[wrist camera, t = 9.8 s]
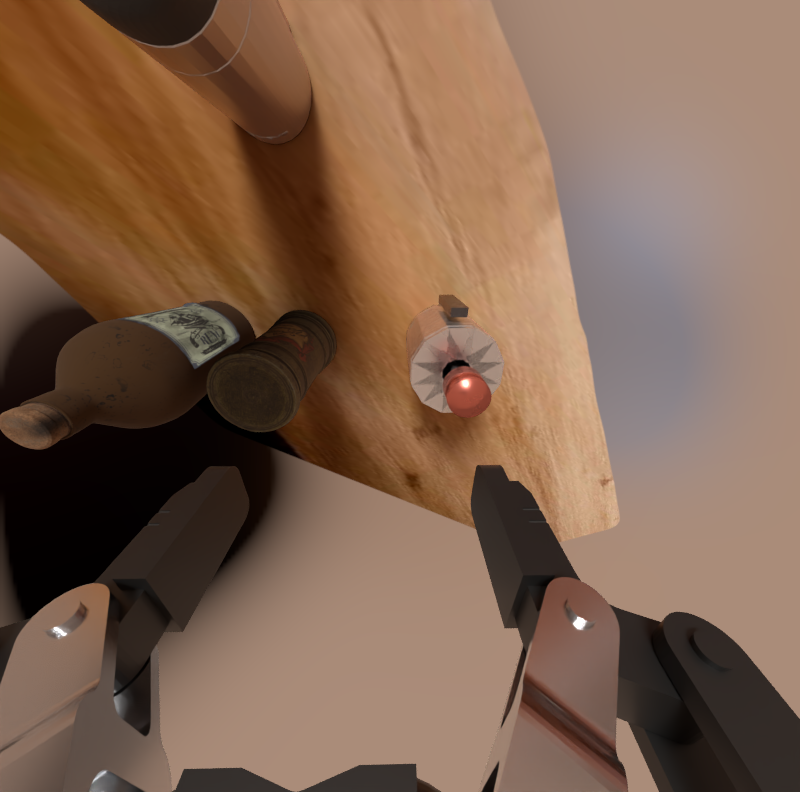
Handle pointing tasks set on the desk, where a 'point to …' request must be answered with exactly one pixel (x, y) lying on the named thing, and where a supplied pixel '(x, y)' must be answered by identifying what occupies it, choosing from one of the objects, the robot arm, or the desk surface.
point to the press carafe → (448, 350)
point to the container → (271, 372)
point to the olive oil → (130, 372)
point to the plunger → (465, 390)
